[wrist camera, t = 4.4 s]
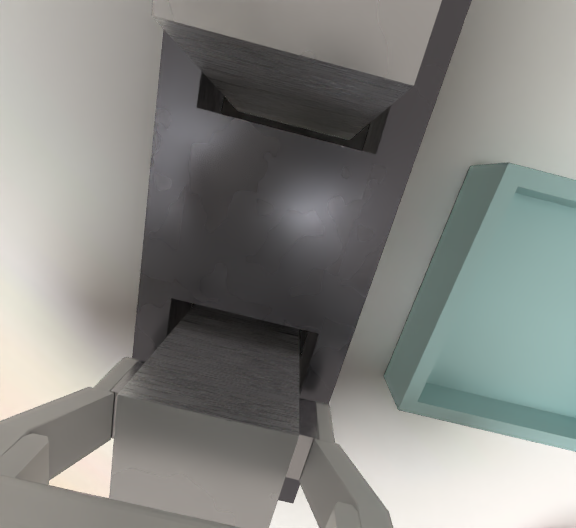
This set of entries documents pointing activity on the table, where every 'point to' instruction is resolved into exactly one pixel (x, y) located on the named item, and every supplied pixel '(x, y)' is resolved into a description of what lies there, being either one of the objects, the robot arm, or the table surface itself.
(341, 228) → the rack rail
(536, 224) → the tray
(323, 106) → the white glossy cube
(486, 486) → the table surface
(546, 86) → the table surface
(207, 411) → the pale grey matte cube
